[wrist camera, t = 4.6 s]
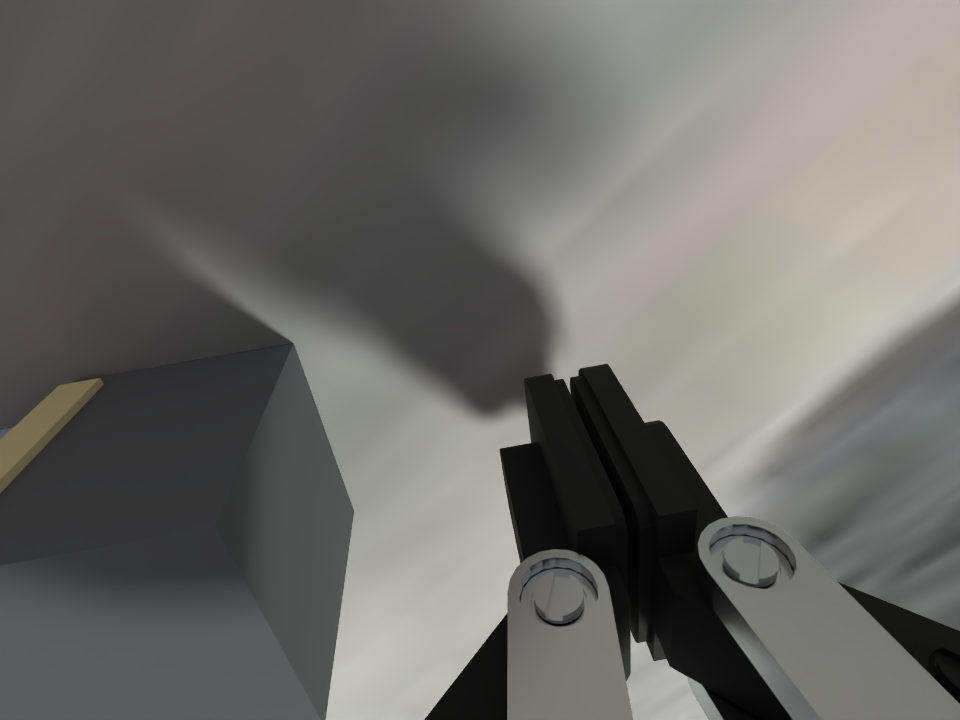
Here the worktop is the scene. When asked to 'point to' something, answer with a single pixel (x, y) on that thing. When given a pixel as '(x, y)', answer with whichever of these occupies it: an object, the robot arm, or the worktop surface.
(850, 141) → the worktop surface
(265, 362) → the plug
